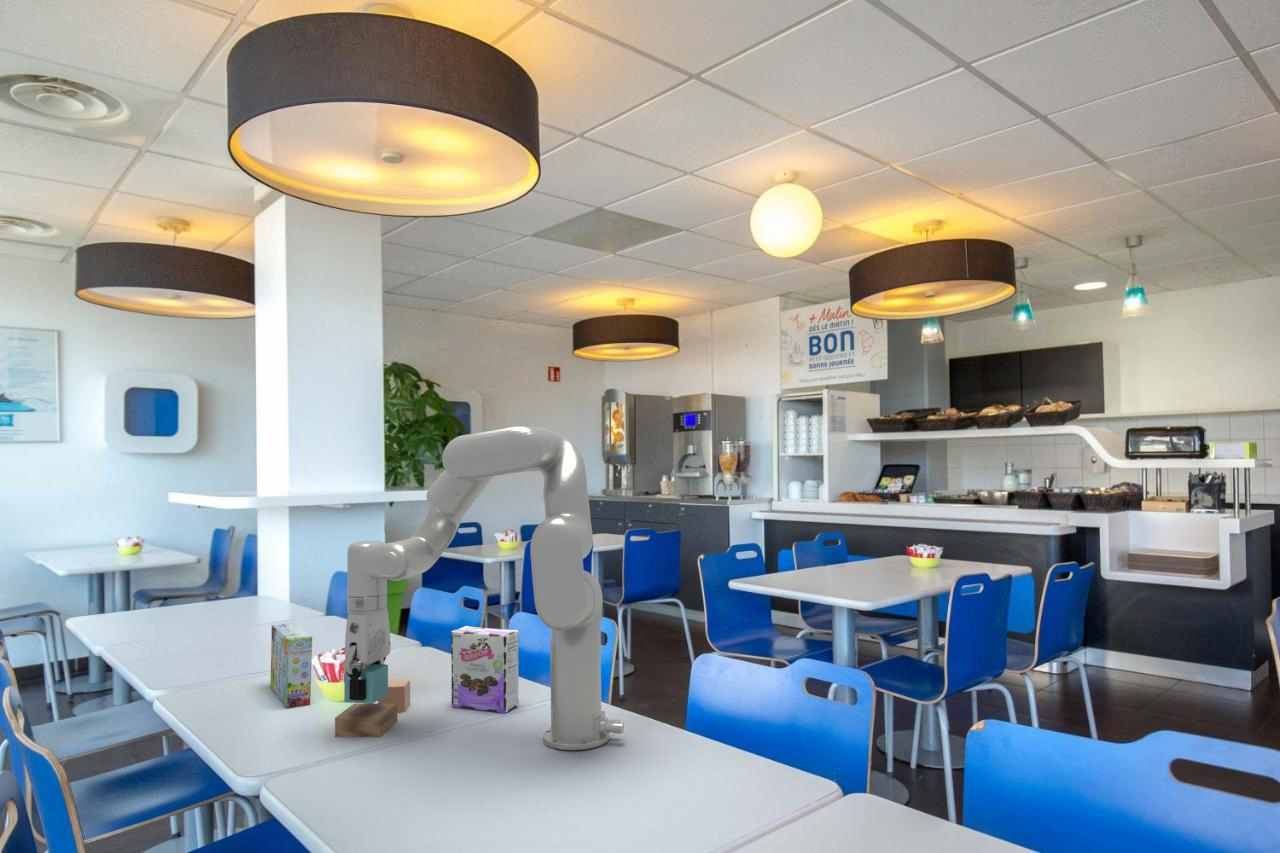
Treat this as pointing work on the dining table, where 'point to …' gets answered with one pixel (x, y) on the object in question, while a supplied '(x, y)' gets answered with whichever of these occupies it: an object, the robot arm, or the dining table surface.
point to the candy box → (485, 669)
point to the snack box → (291, 664)
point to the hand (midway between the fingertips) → (366, 693)
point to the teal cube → (370, 683)
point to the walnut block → (366, 720)
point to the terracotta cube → (398, 694)
